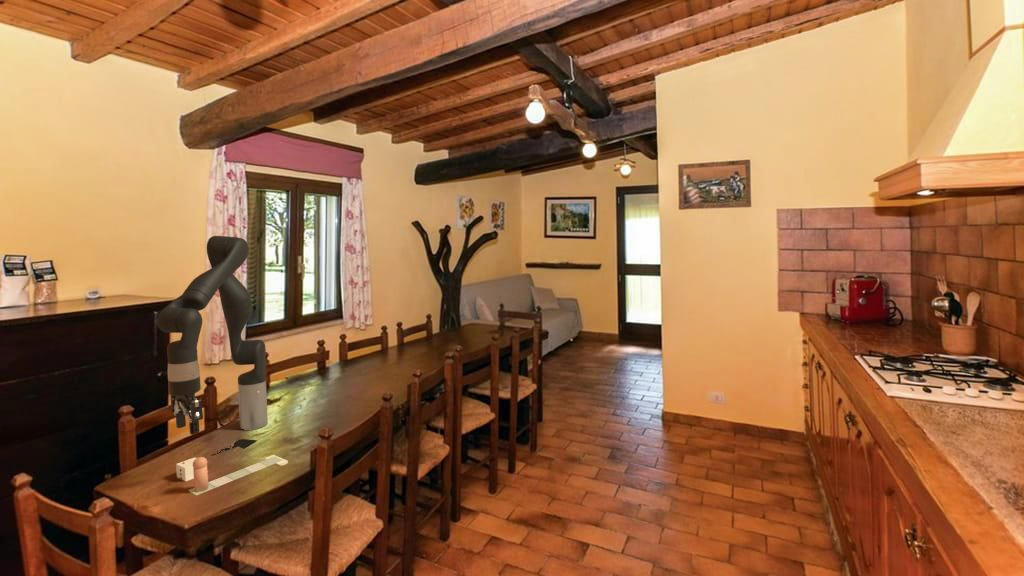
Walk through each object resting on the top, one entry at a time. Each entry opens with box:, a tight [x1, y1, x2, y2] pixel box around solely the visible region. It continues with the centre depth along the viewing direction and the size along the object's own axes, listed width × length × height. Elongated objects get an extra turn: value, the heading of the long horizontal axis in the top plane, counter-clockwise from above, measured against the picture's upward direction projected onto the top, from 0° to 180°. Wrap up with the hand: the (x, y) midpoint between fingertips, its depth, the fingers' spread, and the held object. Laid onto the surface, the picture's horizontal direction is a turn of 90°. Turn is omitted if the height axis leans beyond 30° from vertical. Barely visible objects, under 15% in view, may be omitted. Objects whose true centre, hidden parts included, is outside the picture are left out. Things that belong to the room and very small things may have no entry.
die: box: [175, 457, 198, 482], centre depth 136 cm, size 5×5×5 cm
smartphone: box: [208, 438, 258, 457], centre depth 156 cm, size 7×1×15 cm
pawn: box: [193, 456, 209, 492], centre depth 128 cm, size 3×3×9 cm
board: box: [187, 454, 289, 496], centre depth 137 cm, size 8×26×1 cm, turn 148°
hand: (187, 430), depth 135 cm, fingers open, 8 cm apart
